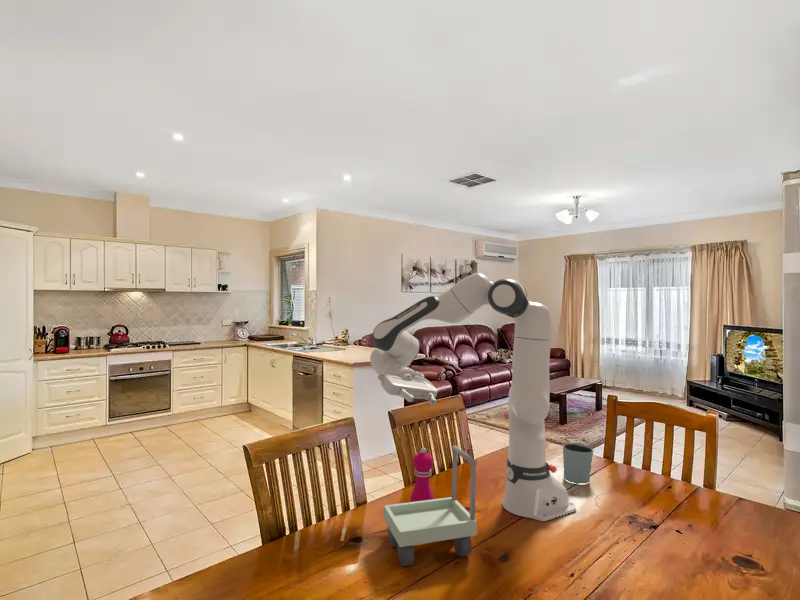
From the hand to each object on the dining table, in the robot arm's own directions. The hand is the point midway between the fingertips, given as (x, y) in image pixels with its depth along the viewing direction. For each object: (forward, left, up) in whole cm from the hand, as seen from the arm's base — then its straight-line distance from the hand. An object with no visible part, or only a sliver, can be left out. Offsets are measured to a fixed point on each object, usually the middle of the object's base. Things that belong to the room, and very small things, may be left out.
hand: (423, 401), depth 137 cm
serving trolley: (+6, +22, -33) cm, 40 cm away
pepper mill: (+1, +4, -33) cm, 33 cm away
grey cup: (-62, -5, -33) cm, 70 cm away
